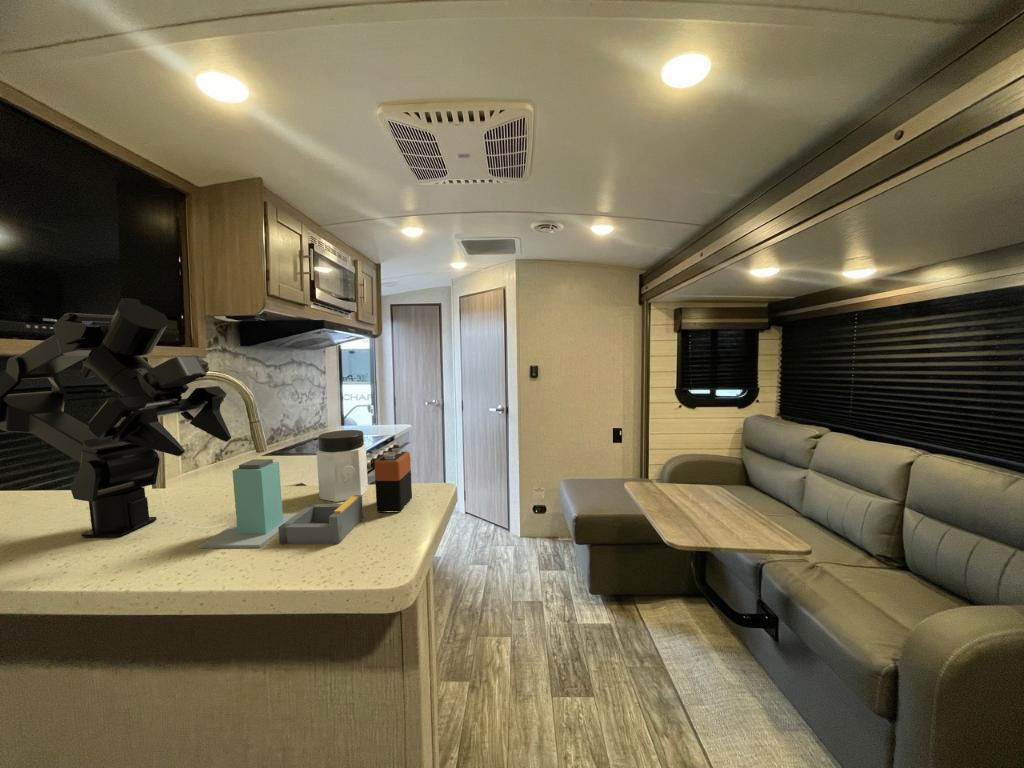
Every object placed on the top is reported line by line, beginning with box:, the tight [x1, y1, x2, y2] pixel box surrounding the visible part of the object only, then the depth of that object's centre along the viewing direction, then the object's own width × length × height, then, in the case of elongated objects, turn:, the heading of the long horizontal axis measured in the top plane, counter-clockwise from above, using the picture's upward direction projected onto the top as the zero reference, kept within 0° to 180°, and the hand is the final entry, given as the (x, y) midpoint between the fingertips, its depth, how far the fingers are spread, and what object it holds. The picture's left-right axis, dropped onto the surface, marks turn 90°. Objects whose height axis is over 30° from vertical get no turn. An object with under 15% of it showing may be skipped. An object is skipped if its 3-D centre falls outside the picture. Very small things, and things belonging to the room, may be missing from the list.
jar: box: [316, 429, 369, 503], centre depth 79 cm, size 9×8×12 cm
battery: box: [373, 447, 413, 512], centre depth 73 cm, size 4×7×10 cm, turn 176°
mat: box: [199, 513, 297, 549], centre depth 64 cm, size 9×11×1 cm
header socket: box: [278, 495, 364, 545], centre depth 63 cm, size 9×9×4 cm
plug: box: [232, 458, 284, 535], centre depth 63 cm, size 4×4×11 cm
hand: (207, 446), depth 63 cm, fingers open, 9 cm apart
